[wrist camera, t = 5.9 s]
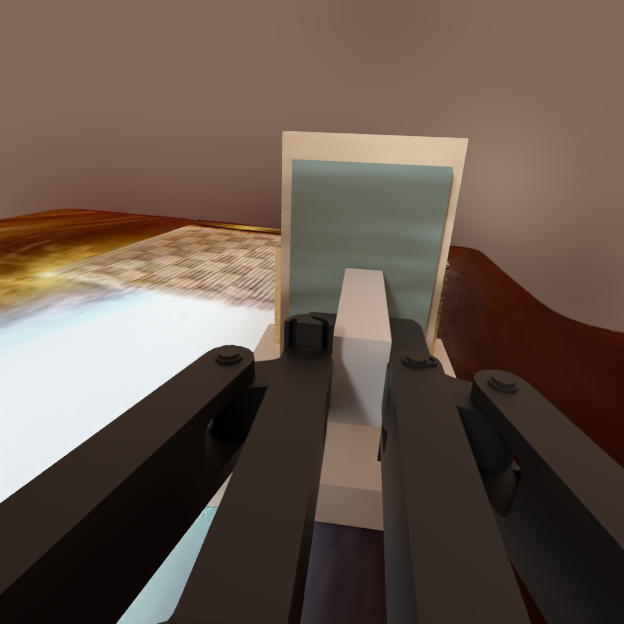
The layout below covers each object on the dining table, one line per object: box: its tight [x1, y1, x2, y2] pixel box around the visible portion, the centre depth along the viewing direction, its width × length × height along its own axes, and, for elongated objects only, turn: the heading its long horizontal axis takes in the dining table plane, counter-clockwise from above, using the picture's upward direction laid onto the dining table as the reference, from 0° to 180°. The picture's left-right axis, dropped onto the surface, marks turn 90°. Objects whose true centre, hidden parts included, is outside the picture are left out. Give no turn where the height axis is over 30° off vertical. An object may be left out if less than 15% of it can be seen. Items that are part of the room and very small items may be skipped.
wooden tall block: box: [280, 131, 468, 357], centre depth 19 cm, size 5×7×12 cm, turn 83°
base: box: [207, 324, 456, 531], centre depth 22 cm, size 14×12×2 cm
